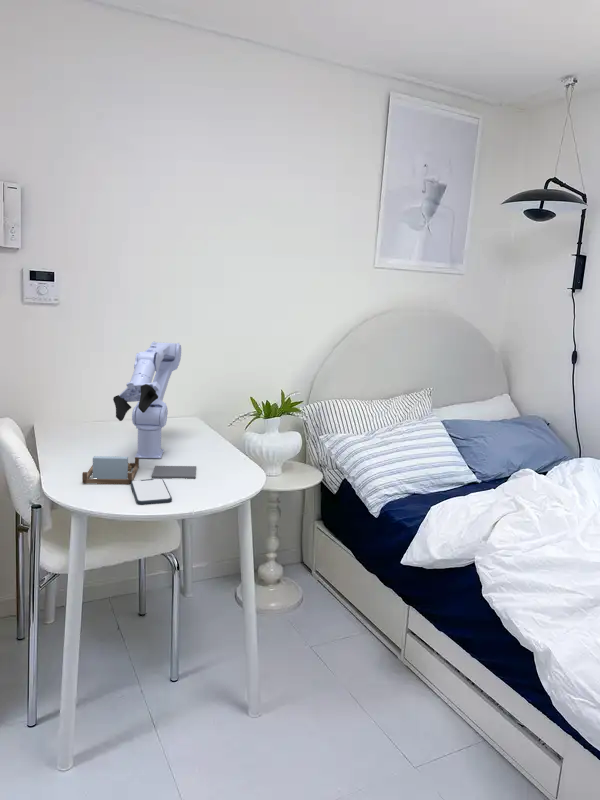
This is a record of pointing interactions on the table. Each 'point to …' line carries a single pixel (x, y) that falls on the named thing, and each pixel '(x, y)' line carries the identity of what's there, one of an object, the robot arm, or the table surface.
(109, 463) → the panel
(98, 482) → the frame
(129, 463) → the offcut stack
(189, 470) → the mat
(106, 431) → the table surface
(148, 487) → the phone case
